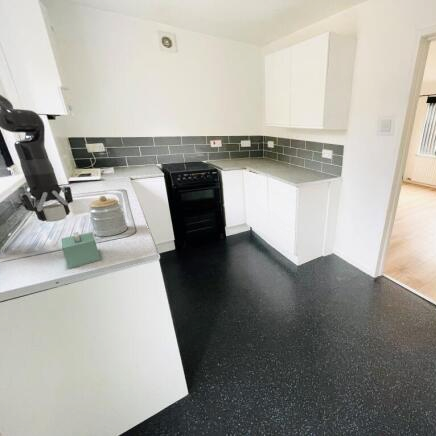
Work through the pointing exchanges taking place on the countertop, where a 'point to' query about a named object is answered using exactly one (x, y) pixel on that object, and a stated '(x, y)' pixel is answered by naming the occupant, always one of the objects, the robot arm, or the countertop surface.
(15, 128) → the robot arm
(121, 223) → the jar
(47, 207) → the bowl
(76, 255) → the tissue box
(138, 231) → the countertop surface
